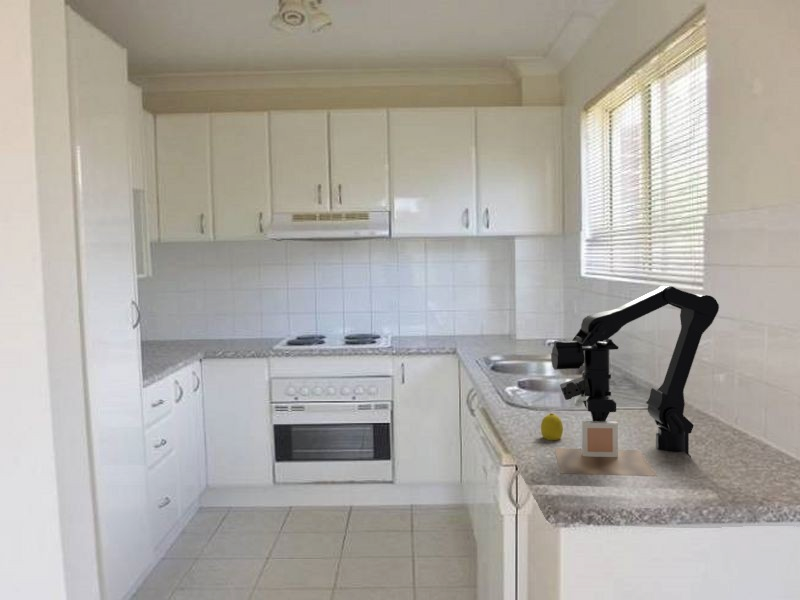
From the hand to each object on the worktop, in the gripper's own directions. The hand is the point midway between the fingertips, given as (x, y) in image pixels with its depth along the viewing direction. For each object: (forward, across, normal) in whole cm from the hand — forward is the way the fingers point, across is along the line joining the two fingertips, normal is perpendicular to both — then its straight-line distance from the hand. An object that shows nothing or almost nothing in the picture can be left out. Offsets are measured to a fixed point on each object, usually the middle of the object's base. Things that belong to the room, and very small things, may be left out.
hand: (597, 432), depth 152 cm
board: (+6, +7, 0) cm, 9 cm away
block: (+4, +3, 0) cm, 6 cm away
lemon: (+6, -11, -10) cm, 16 cm away
